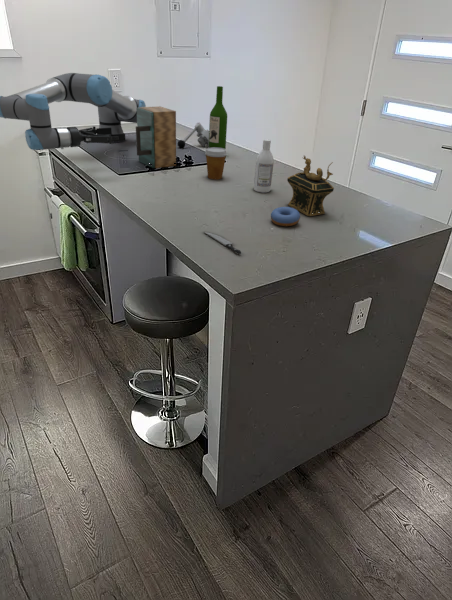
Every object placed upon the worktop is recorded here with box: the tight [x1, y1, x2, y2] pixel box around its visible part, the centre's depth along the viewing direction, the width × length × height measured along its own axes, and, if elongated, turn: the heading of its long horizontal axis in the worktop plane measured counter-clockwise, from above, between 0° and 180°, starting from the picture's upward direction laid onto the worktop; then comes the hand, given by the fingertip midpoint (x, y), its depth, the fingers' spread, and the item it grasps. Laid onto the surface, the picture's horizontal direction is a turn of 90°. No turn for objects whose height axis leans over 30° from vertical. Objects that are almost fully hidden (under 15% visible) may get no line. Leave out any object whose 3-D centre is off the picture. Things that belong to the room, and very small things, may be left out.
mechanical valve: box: [177, 122, 209, 149], centre depth 239 cm, size 10×18×15 cm
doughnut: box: [270, 206, 301, 227], centre depth 147 cm, size 10×10×5 cm
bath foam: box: [253, 138, 274, 194], centre depth 173 cm, size 7×7×20 cm
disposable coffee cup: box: [204, 147, 228, 181], centre depth 187 cm, size 10×10×12 cm
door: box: [135, 108, 156, 169], centre depth 194 cm, size 7×14×24 cm, turn 37°
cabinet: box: [139, 105, 177, 169], centre depth 199 cm, size 11×14×24 cm
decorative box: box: [286, 155, 335, 217], centre depth 155 cm, size 20×10×20 cm, turn 28°
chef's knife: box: [204, 231, 242, 255], centre depth 131 cm, size 19×1×3 cm
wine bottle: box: [208, 85, 228, 150], centre depth 218 cm, size 9×9×32 cm
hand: (118, 133), depth 183 cm, fingers open, 13 cm apart
